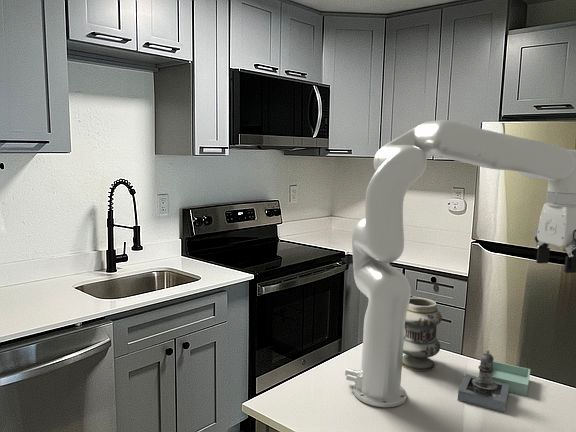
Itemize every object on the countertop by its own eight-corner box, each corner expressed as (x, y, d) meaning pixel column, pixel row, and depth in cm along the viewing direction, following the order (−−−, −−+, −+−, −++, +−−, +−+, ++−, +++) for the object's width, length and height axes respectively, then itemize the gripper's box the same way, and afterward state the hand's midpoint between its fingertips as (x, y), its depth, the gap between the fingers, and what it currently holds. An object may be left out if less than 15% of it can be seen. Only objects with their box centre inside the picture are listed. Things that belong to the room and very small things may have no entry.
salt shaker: (490, 391, 124) (494, 345, 122) (500, 403, 118) (505, 355, 116) (466, 391, 124) (471, 345, 122) (476, 403, 118) (481, 355, 116)
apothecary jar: (406, 351, 147) (410, 292, 144) (445, 363, 139) (451, 301, 137) (386, 363, 138) (390, 301, 135) (427, 377, 130) (432, 311, 128)
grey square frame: (457, 400, 119) (458, 390, 118) (464, 383, 128) (465, 373, 127) (504, 412, 114) (505, 402, 114) (508, 393, 123) (509, 384, 123)
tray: (481, 385, 127) (482, 374, 126) (487, 370, 136) (488, 359, 136) (526, 396, 122) (527, 384, 122) (529, 379, 131) (530, 369, 131)
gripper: (526, 196, 130) (520, 259, 132) (577, 203, 113) (569, 276, 115) (551, 196, 131) (544, 259, 134) (605, 204, 115) (596, 276, 117)
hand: (555, 267), depth 125 cm, fingers open, 9 cm apart
